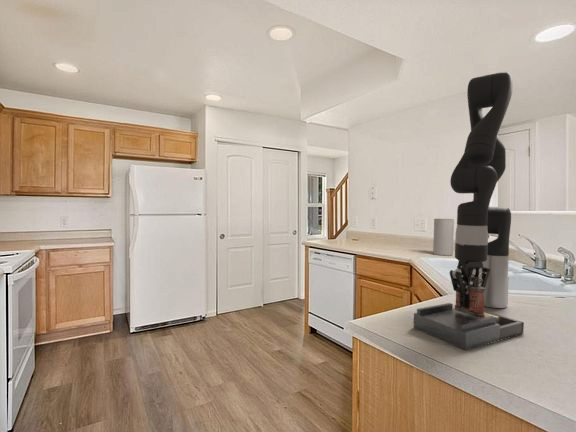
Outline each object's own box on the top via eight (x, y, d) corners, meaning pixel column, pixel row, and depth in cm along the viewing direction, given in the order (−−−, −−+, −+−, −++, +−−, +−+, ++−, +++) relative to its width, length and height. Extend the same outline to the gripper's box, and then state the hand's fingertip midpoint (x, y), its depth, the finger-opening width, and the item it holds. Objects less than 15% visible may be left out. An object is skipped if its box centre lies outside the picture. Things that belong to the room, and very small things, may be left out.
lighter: (451, 308, 89) (452, 272, 89) (460, 307, 91) (461, 271, 90) (477, 318, 82) (479, 279, 82) (487, 316, 83) (488, 278, 83)
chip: (475, 314, 91) (475, 323, 91) (490, 318, 87) (489, 328, 87) (484, 312, 92) (484, 321, 92) (499, 316, 89) (498, 325, 89)
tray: (469, 315, 98) (469, 306, 98) (523, 333, 85) (523, 322, 85) (445, 320, 93) (446, 310, 93) (499, 340, 80) (499, 328, 80)
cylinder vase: (434, 252, 235) (435, 218, 234) (453, 254, 228) (454, 219, 228) (432, 254, 224) (433, 218, 223) (452, 256, 217) (453, 219, 217)
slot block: (445, 320, 93) (446, 302, 93) (499, 340, 80) (500, 318, 80) (413, 327, 88) (414, 307, 87) (465, 350, 74) (466, 326, 74)
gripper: (474, 239, 92) (472, 299, 93) (440, 241, 86) (438, 305, 86) (501, 242, 85) (499, 307, 86) (467, 245, 79) (465, 314, 80)
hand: (469, 306), depth 86 cm, fingers closed on lighter, 3 cm apart
